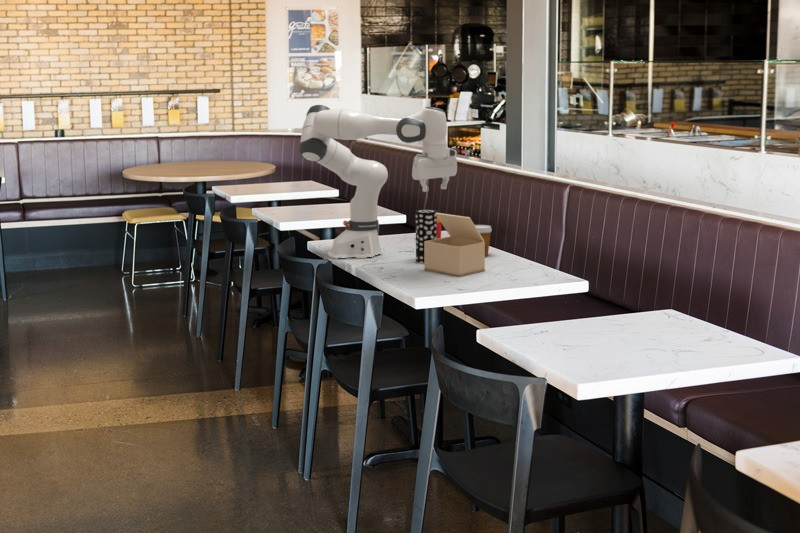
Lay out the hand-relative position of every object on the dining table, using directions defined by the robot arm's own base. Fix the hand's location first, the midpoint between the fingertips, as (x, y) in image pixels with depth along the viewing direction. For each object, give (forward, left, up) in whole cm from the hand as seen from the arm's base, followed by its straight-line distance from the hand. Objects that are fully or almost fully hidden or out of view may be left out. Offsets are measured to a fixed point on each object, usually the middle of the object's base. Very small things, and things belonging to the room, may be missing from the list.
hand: (434, 190), depth 355 cm
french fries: (+19, +62, -32) cm, 72 cm away
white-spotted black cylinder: (+4, +25, -32) cm, 40 cm away
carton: (+9, +5, -31) cm, 33 cm away
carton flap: (+12, +6, -15) cm, 20 cm away
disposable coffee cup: (+28, +29, -32) cm, 51 cm away
